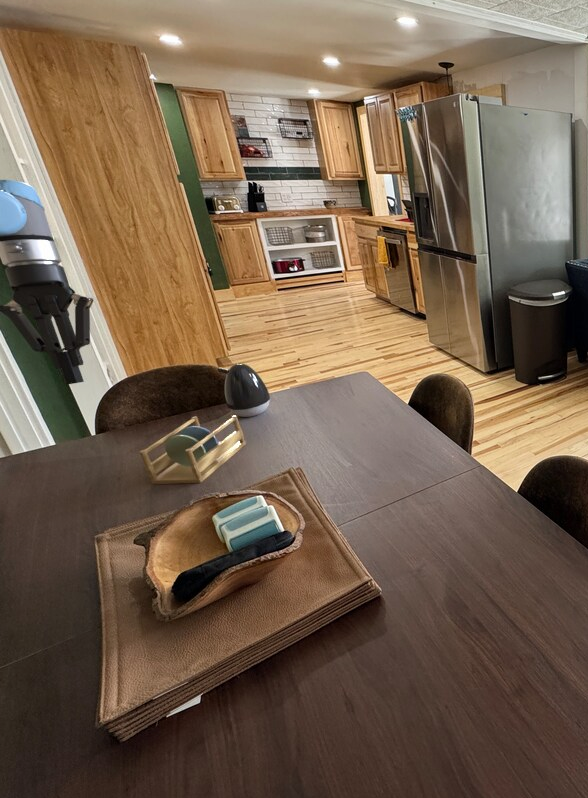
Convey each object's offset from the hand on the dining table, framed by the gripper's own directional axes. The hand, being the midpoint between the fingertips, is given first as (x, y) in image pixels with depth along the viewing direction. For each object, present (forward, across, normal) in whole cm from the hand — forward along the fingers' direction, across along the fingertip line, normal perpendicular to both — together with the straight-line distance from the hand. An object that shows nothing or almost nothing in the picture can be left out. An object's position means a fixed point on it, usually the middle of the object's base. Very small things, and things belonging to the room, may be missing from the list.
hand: (75, 383), depth 95 cm
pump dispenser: (+17, +20, +34) cm, 43 cm away
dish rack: (+23, +14, +6) cm, 28 cm away
